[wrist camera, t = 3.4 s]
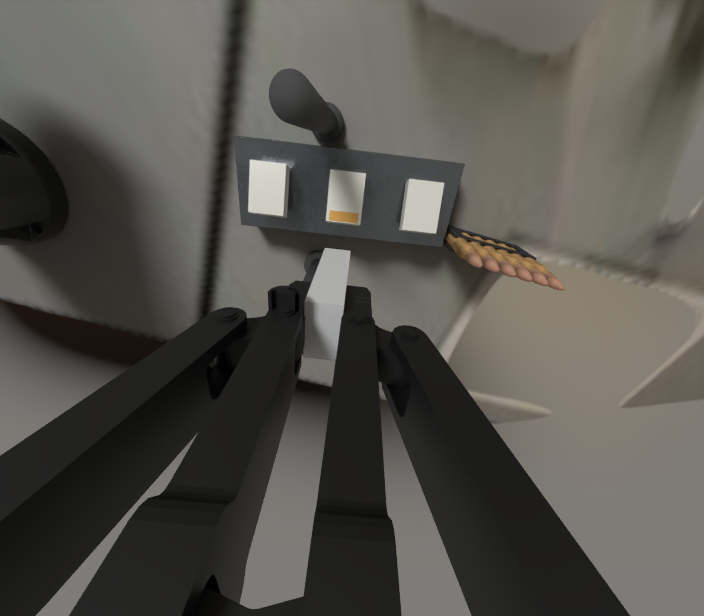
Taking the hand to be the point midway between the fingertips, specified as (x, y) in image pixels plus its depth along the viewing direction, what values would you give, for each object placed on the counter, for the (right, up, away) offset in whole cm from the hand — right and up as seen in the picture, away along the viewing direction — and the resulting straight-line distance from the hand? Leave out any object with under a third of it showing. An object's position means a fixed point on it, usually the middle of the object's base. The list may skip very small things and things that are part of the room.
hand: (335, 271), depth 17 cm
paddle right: (+8, +8, +13) cm, 18 cm away
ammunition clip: (+18, +7, +21) cm, 28 cm away
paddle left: (-8, +10, +13) cm, 18 cm away
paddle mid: (0, +9, +13) cm, 16 cm away
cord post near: (-2, +18, +15) cm, 24 cm away
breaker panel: (0, +12, +18) cm, 22 cm away
